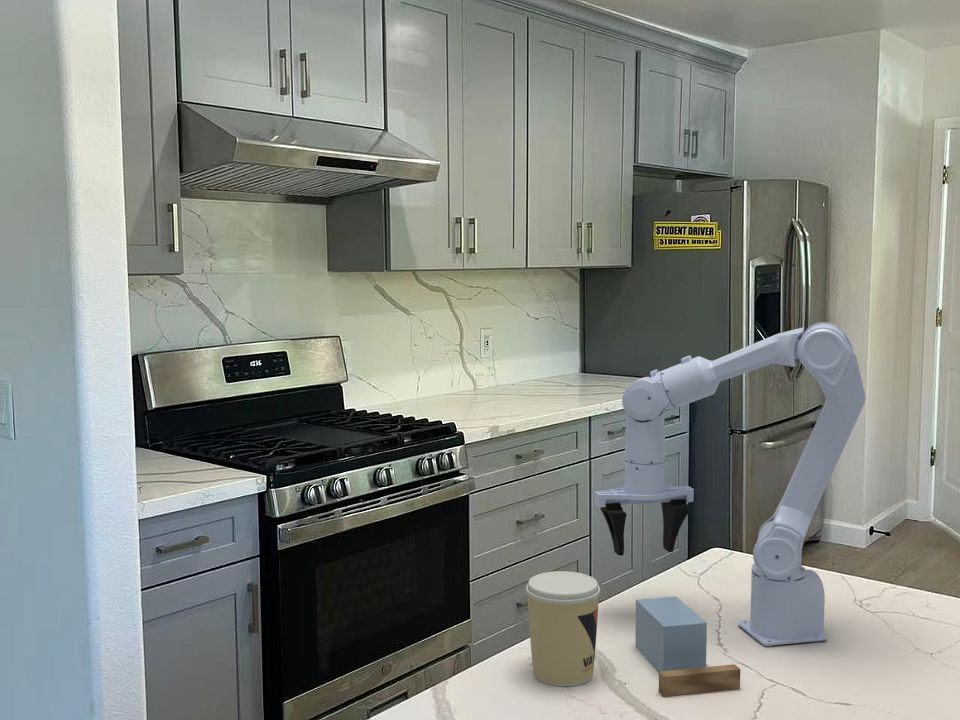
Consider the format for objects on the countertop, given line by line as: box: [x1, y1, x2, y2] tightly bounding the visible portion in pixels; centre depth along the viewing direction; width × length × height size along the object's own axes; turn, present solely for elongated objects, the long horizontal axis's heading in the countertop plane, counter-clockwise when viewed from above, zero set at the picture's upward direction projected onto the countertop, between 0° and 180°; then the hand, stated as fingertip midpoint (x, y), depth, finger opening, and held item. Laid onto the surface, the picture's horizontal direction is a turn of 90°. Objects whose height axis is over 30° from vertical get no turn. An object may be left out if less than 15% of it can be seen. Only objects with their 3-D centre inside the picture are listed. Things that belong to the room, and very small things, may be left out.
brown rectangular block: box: [658, 663, 741, 698], centre depth 116 cm, size 10×2×2 cm, turn 102°
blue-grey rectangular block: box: [634, 596, 708, 673], centre depth 125 cm, size 6×10×7 cm, turn 12°
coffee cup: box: [525, 570, 601, 687], centre depth 121 cm, size 9×9×12 cm
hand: (643, 551), depth 139 cm, fingers open, 7 cm apart
